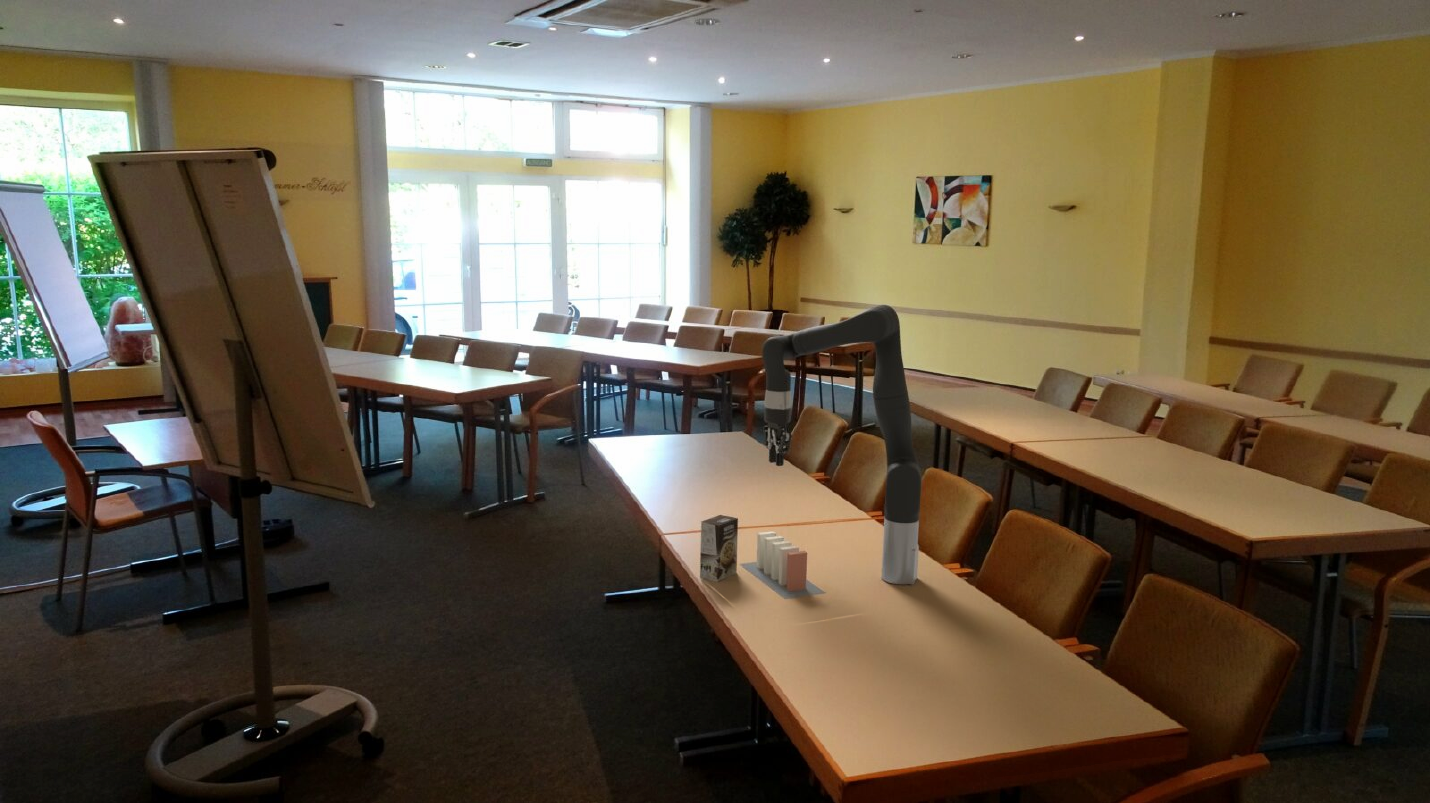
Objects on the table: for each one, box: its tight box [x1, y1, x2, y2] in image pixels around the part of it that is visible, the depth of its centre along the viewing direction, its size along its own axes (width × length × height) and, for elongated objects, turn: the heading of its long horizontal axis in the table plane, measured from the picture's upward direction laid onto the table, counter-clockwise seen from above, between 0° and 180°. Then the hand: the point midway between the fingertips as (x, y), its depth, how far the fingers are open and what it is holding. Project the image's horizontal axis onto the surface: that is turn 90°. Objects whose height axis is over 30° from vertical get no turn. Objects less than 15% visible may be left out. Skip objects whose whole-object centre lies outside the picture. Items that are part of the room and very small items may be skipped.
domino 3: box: [771, 540, 792, 580], centre depth 261 cm, size 5×2×10 cm, turn 113°
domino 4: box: [779, 545, 800, 585], centre depth 257 cm, size 5×2×10 cm, turn 114°
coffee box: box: [699, 514, 739, 582], centre depth 262 cm, size 9×6×16 cm
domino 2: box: [764, 535, 785, 574], centre depth 265 cm, size 5×2×10 cm, turn 113°
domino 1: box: [756, 531, 777, 569], centre depth 269 cm, size 5×2×10 cm, turn 113°
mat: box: [739, 561, 826, 600], centre depth 261 cm, size 28×12×1 cm, turn 23°
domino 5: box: [786, 550, 808, 591], centre depth 253 cm, size 5×2×10 cm, turn 113°
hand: (776, 463), depth 278 cm, fingers open, 3 cm apart
